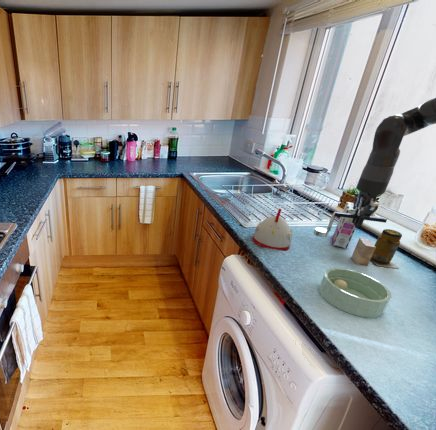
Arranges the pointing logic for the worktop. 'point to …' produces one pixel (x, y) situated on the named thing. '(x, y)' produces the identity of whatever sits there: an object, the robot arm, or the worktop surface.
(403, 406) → the worktop surface
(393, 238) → the condiment
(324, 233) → the ladle
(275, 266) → the worktop surface
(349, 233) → the candy bar box
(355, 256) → the brown wooden block
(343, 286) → the dumpling
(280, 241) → the cream dome hat
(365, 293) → the bowl
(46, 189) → the worktop surface
